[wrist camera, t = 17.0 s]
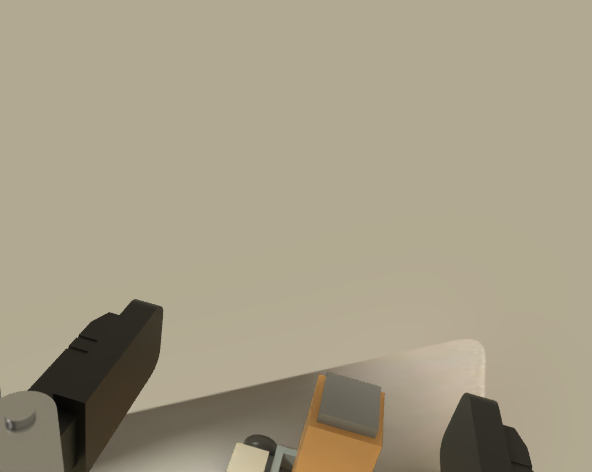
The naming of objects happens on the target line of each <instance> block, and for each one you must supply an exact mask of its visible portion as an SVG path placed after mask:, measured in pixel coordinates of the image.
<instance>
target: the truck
mask: <svg viewBox="0 0 592 472" xmlns="http://www.w3.org/2000/svg"><path fill="white" fill-rule="evenodd" d="M296 454H297V450H294V449H290V448H287V447H284V446H280V445H277V444H276V443H275V442H274V441H273V440H272V439H270V438H269V437H266V436H263V435H252V436H249V437H248V438H247V439H246V440H245V442H244V444H242V443H238V442H237V443H236V446H235V448H234V451H233V454H232V457H231V459H230V462H229V465H228V467H227V470H226V472H292V468H293V465H294V461H295V458H296Z"/></svg>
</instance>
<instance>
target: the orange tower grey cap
mask: <svg viewBox="0 0 592 472" xmlns="http://www.w3.org/2000/svg"><path fill="white" fill-rule="evenodd" d="M384 396H385V393H383V392H381V387H379V386H375V385H372V384H368V383H365V382H361V381H358V380H354V379H350V378H347V377H343V376H340V375H336V374H333V373H329V372H327V375H326V376H323V375H319V377H318V380H317V384H316V387H315V391H314V394H313V398H312V401H311V405H310V408H309V412H308V415H307V419H306V422H305V426H304V429H303V433H302V436H301V440H300V443H299V447H298V451H297V454H296V458H295V461H294V465H293V468H292V472H372V471H373V469H374V466H375V464H376V461H377V459H378V456H379V454H380V451H381V449H382V441H383V418H384Z"/></svg>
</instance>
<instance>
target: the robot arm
mask: <svg viewBox="0 0 592 472" xmlns="http://www.w3.org/2000/svg"><path fill="white" fill-rule="evenodd" d="M162 321H163V308H162V307H161V306H158V305H155V304H151V303H147V302H144V301H140V300H137V299H135V300H133V301H131V303H130V304H129V305H128V306H127V307H126V308H125V309H124V311H123V312H122V313H121V314H120V315H117V314H113V313H110V312H109V313H107V314H105V315H103V316H101V317H99V318H97V319H95V320H93V321H92V322H90V324H89V325H88V326H87V327H86V328H85V329H84V330H83V331H82V332H81V333H80V334H79V337H78V338H76V339H75V340H74V341H73V342H72V343H71V344H70V345H69V348H68V349H66V350H65V351H64V352H63V353H62V354H61V355H60V356H59V357H58V359H56V360H55V362H54V363H53V364H52V365H51V366H50V367H49V368H48V369H47V370H46V371H45V372H44V374H43V375H42V376H41V377H40V378H39V379H38V380H37V381H36V382H35V383H34V384H33V385H32V386H31V388H30V389H28V390H27V391H21V392H16V393H12V394H9V395H7V396H5V397H3V398H1V391H0V472H89V471H90V469H91V468H92V466H93V465H94V463H95V461H96V460H97V458H98V457H99V455H100V454H101V452H102V451H103V449H104V447H105V446H106V444H107V443H108V441H109V440H110V438H111V437H112V435H113V433H114V432H115V430H116V429H117V427H118V426H119V424H120V423H121V421H122V419H123V418H124V416H125V415H126V413H127V412H128V410H129V409H130V407H131V406H132V404H133V402H134V401H135V399H136V398H137V396H138V395H139V393H140V391H141V390H142V388H143V387H144V385H145V384H146V382H147V381H148V379H149V378H150V376H151V374H152V373H153V370H154V369H155V366H156V364H157V361H158V358H159V353H160V344H161V332H162ZM440 466H441V472H533V471H532V464H531V460H530V456H529V452H528V449H527V447H526V445H525V443H524V442H523V440H522V439H521V437H520V436H519V435H518V433H517V431H516V430H515V429H514V428H512V427H508V426H505V425H503V424H502V419H501V415H500V410H499V406H498V403H497V402H496V401H494V400H490V399H487V398H483V397H480V396H476V395H473V394H469V393H465V394H464V395H463V396H462V398H461V399H460V402H459V404H458V406H457V408H456V410H455V412H454V414H453V416H452V418H451V421H450V423H449V425H448V427H447V429H446V431H445V433H444V436H443V439H442V443H441V449H440Z"/></svg>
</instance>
